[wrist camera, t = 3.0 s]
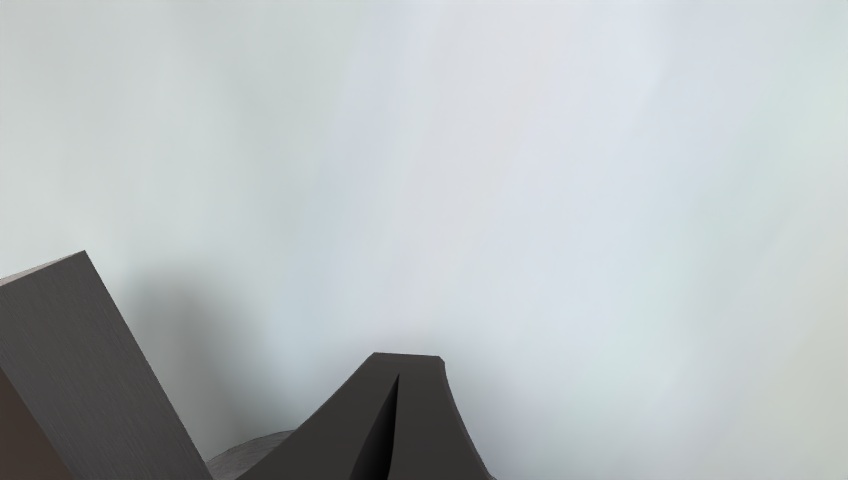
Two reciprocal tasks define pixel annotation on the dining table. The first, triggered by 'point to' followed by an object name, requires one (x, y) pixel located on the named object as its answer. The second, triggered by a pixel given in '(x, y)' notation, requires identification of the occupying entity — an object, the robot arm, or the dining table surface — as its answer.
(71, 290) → the pressure cooker lid
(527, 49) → the dining table surface
